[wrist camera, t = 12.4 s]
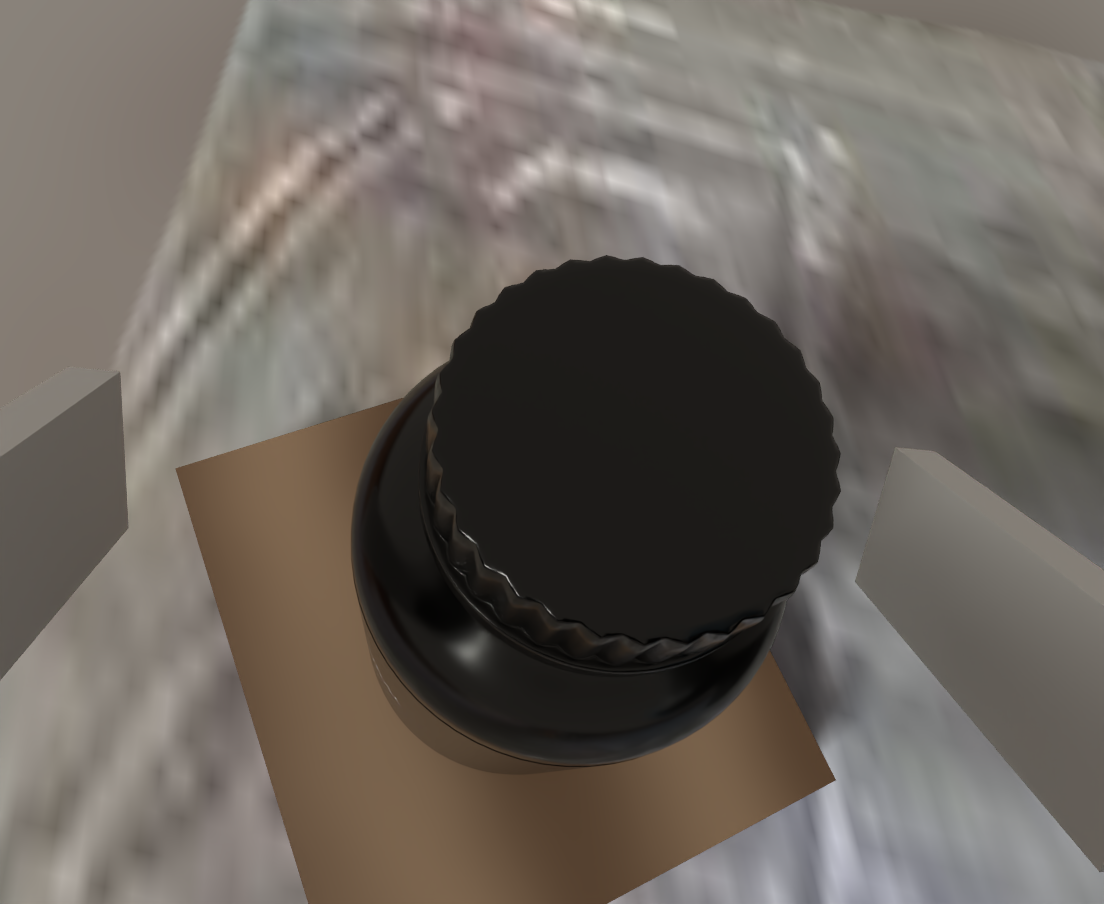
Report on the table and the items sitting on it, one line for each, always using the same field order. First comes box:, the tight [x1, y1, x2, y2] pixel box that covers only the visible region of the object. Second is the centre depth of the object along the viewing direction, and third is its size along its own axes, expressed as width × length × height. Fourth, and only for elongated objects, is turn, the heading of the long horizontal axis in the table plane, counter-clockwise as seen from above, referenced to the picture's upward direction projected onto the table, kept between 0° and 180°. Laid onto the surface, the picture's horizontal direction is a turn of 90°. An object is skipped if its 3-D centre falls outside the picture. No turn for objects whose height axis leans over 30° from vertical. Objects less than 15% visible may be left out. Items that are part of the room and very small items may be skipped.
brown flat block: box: [176, 398, 836, 904], centre depth 22 cm, size 12×13×3 cm
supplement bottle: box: [351, 255, 841, 775], centre depth 15 cm, size 7×7×12 cm
